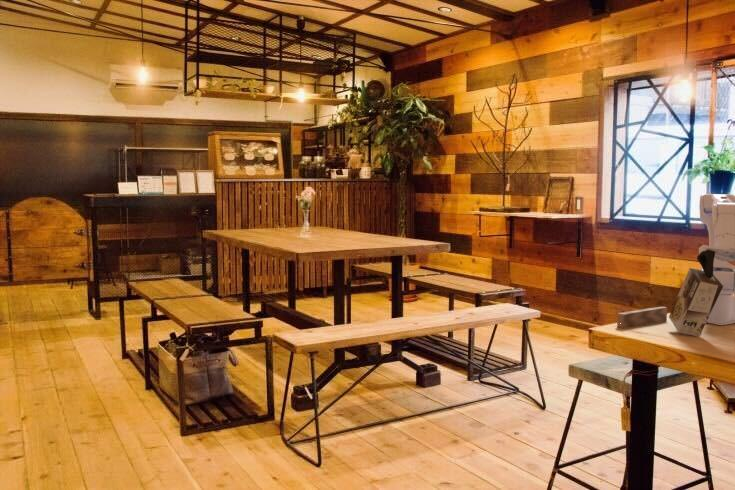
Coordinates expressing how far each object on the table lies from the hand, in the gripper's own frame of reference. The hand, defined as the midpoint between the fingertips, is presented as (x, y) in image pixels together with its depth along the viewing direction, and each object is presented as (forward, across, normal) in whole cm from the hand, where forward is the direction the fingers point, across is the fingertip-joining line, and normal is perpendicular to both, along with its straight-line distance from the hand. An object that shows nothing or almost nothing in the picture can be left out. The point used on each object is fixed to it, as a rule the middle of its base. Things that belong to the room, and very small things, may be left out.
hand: (727, 282), depth 179 cm
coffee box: (+10, -5, +13) cm, 17 cm away
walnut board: (+6, -11, +24) cm, 27 cm away
